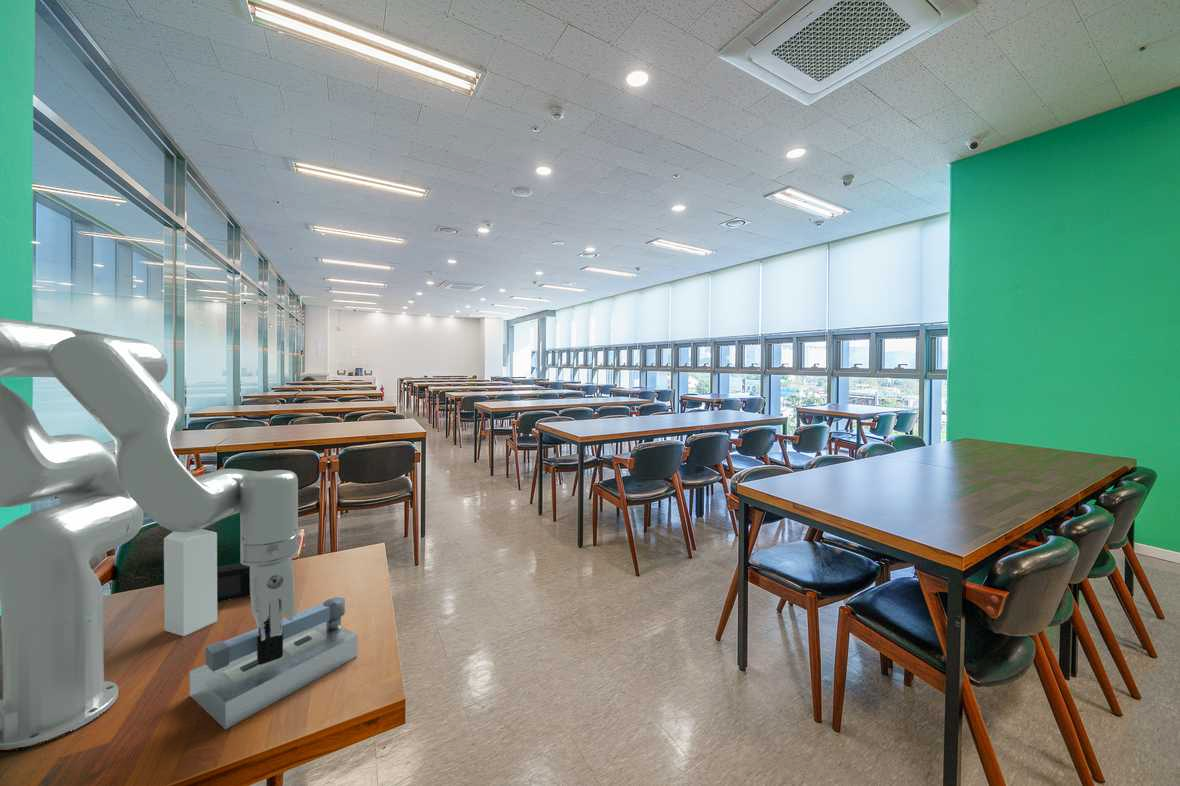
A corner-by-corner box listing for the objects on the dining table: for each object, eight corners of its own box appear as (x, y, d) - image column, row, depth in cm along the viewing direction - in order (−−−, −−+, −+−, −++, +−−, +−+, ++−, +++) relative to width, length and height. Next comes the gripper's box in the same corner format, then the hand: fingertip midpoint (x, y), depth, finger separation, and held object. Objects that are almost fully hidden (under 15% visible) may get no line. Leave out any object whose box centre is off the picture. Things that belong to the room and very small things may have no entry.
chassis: (225, 729, 64) (225, 687, 63) (189, 695, 70) (189, 658, 70) (358, 655, 81) (358, 622, 81) (320, 634, 88) (320, 603, 87)
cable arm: (338, 608, 85) (338, 594, 85) (348, 614, 83) (348, 600, 83) (205, 663, 69) (205, 645, 68) (213, 672, 67) (213, 654, 66)
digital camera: (210, 605, 98) (209, 575, 98) (216, 595, 102) (215, 566, 102) (267, 595, 103) (267, 566, 103) (270, 585, 108) (270, 557, 107)
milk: (198, 616, 93) (198, 514, 93) (217, 621, 91) (218, 517, 91) (163, 631, 88) (163, 522, 87) (183, 637, 86) (183, 526, 85)
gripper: (307, 555, 68) (307, 671, 68) (288, 530, 79) (288, 630, 79) (246, 569, 63) (246, 694, 63) (235, 540, 73) (235, 647, 74)
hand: (270, 658), depth 71 cm, fingers closed
